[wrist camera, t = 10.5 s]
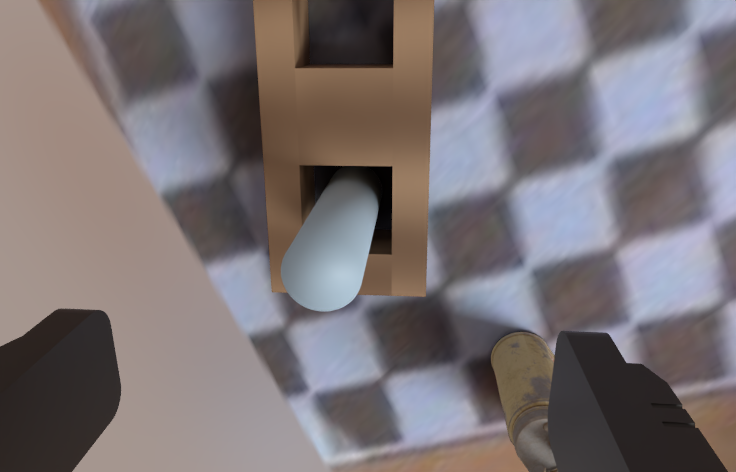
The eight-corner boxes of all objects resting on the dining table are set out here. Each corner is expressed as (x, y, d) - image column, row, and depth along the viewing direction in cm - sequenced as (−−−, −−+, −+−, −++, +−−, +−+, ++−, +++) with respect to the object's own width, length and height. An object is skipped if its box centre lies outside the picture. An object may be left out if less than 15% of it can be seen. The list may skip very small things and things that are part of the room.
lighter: (479, 348, 35) (501, 463, 26) (535, 317, 34) (579, 424, 25) (540, 432, 37) (582, 570, 27) (595, 405, 36) (658, 538, 26)
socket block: (269, -81, 28) (246, -98, 25) (434, -84, 28) (437, -103, 24) (288, 263, 34) (271, 292, 31) (425, 267, 34) (425, 296, 30)
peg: (328, 163, 32) (278, 234, 21) (382, 164, 32) (362, 236, 21) (329, 216, 33) (283, 310, 22) (382, 217, 33) (363, 312, 22)
